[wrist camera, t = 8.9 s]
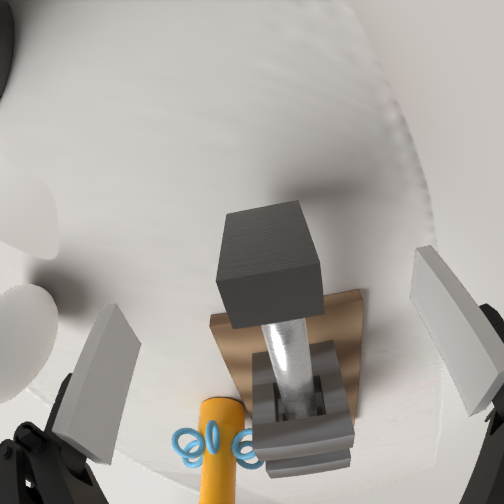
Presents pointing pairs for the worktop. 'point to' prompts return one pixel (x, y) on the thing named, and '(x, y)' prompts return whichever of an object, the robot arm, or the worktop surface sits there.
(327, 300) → the jig
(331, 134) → the worktop surface
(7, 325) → the sauce bottle
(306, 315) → the shaft
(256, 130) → the worktop surface
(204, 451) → the cylinder
